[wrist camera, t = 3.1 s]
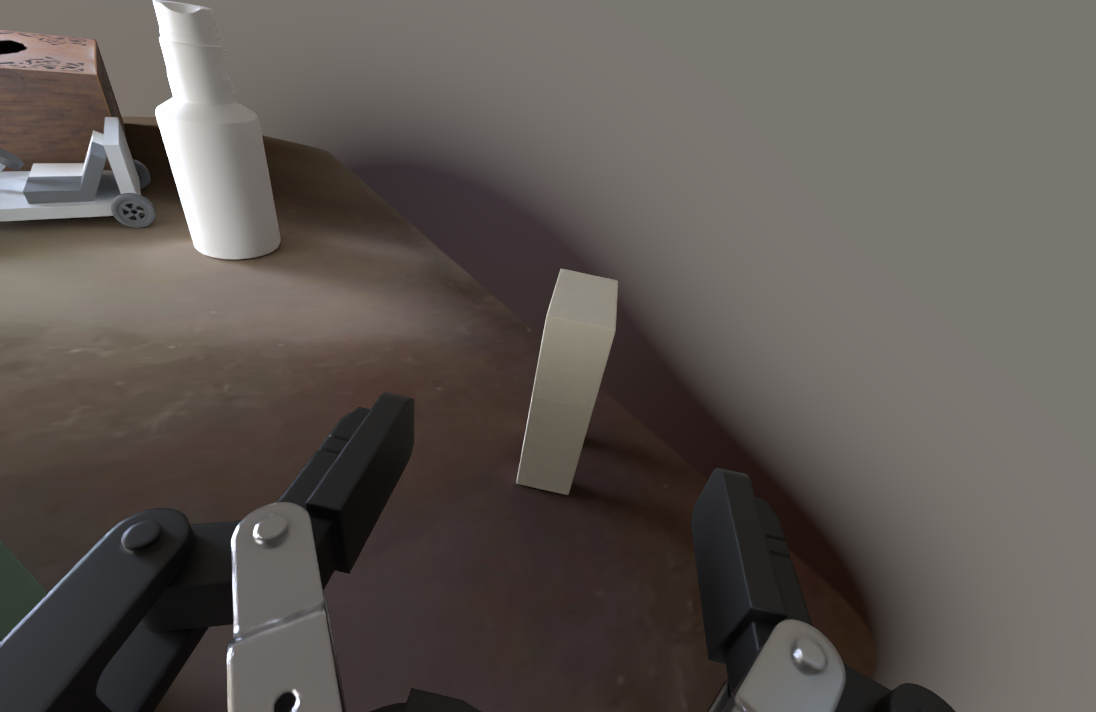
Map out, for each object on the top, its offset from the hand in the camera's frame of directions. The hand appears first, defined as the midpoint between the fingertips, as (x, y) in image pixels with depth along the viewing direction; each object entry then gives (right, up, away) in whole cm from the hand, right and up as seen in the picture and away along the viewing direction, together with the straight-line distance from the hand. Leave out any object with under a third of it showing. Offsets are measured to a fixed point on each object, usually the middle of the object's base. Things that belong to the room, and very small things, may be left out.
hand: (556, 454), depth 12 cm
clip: (0, -3, +16) cm, 16 cm away
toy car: (-47, +16, +30) cm, 58 cm away
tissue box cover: (-59, +27, +43) cm, 78 cm away
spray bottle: (-29, +13, +31) cm, 44 cm away
